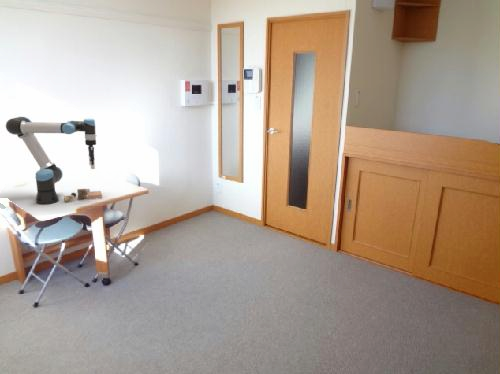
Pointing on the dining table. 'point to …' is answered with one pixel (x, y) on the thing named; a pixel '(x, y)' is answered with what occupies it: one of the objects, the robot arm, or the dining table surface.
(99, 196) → the terracotta stand
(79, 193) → the walnut block
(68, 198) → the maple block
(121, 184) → the dining table surface
